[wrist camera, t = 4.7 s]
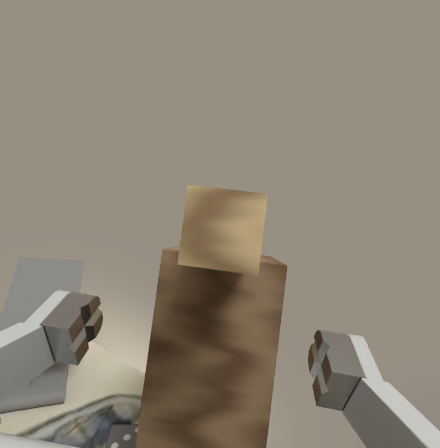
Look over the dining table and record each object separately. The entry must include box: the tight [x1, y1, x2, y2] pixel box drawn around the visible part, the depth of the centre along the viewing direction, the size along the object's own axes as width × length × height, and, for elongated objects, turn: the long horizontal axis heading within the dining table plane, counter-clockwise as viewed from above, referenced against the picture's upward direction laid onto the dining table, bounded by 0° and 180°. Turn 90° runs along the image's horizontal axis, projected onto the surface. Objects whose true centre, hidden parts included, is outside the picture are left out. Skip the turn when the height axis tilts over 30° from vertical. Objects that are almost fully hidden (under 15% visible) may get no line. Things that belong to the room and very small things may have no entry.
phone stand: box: [0, 258, 84, 413], centre depth 45 cm, size 18×10×20 cm, turn 28°
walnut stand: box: [135, 246, 287, 448], centre depth 25 cm, size 10×10×26 cm
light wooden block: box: [178, 185, 268, 275], centre depth 23 cm, size 4×20×4 cm, turn 177°
